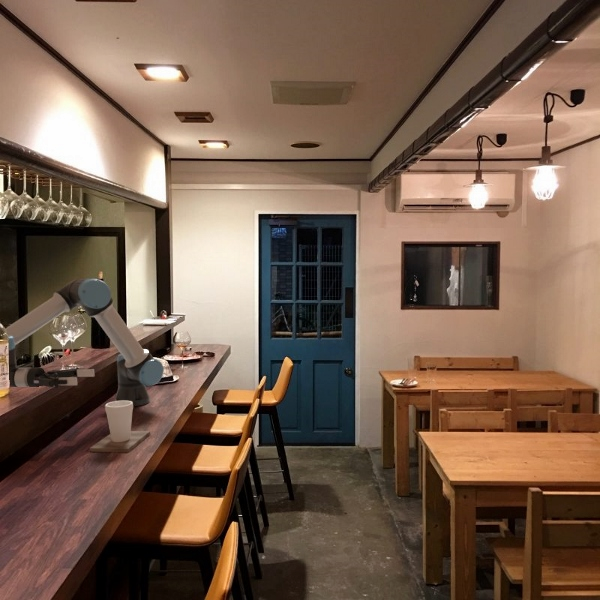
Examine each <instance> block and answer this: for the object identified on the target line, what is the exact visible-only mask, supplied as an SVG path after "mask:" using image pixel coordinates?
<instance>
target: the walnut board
mask: <svg viewBox="0 0 600 600" xmlns="http://www.w3.org/2000/svg"><path fill="white" fill-rule="evenodd" d="M149 434H150V435H151V431H149V430H146V431H145V430H131V434H130V439H129V440H127V441H123V442H114V441H112V439H111V434H110V433H109V434H108V435H107V436H105V437H103V438H102V439H101V440H99V441H98V442H96V443H95V444H94V445H91V447H89V452H92V453H93V452H94V453H95V452H102V453H106V452H107V453H108V452H109V453H130V452H131V451H132V450H133V449H135V448H136V447H137V446H138V445H140V443H142V442H143V441H144V440H145V439H146V438H148V437H149V436H150V435H149ZM148 435H149V436H148ZM147 436H148V437H147Z"/></svg>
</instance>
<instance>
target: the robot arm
mask: <svg viewBox="0 0 600 600" xmlns="http://www.w3.org/2000/svg"><path fill="white" fill-rule="evenodd" d="M111 292H112V291H111V288H110V287H109V285H108V284H107V283H106V282H105V281H103V280H101V279H98V278H93V277H91V278H85V277H84V278H82V277H81V278H76V279H74V280H72V281H70V282H68V283H66V284H65V285H63V287H61V288H59V289H58V290H56V291H55V292H54V293H53V296H52V297H51V298H49V299H48V300H46V301H45V302H43V303H42V304H39V306H37V307H36V308H34V309H32V310H31V311H29V312H28V313H26V314H25V315H24V316H22V317H21V318H19V319H17V320H16V321H15V322H13V323H12V324H10V325H8V326H7V327H6V328H5V329H6V331H7V334H8V339H9V380H10V387H28V386H29V387H39V386H42V387H46V388H47V387H48V388H55V389H58V388H59V386H78V378H84V377H85V378H87V377H88V378H89V377H92V378H94V377H95V369H94V368H92V369H90V368H86V369H85V368H84V369H81V368H79V366H77V367H75V368H68V369H67V368H66V369H58V370H50V371H47V372H46V371H45V369H44V368H43V367H40V366H39V367H29V366H28V367H17V355H16V354H17V353H16V345H18V344H19V343H20V342H22V341H23V340H25V339H27V338H29V337H30V336H31V335H33V334H34V333H35V332H37V331H39V330H40V329H41V328H43V327H45V326H46V325H48V323H50V322H52V321H53V320H55V319H57V318H58V317H59V316H60V315H62V314H63V313H69V312H71V311H72V310H74V309H76V308H79V307H81V308H82V309H83V310H84V311H85V313H86V314H87V316H88V317H90V318H94V319H95V320H96V321H97V324H99V326H100V327H101V328H102V330H103V331H104V333H105V334H106V336H108V338H109V339H110V341H111V342H112V344H113V345H114V346H115V347H116V349H117V350H118V352H119V353H120V354H118V355H117V356H116V357H117V358H116V367H117V381H118V382H117V383H118V384H117V387H118V388H117V391H116V396H115V398H114V401H132V402H133V407H137V406H143V405H146V404H149V403H150V401H151V400H150V399H151V398H150V394H149V392H148V389H147V386H149V387H150V386H154V385H156V384H158V383H159V382H160V381H161V379H162V378H163V374H164V365H163V363H162V362H161V361H160V360H158V359H157V358H154V356H153V355H152V354H151V352H150V350H149V349H146V348H143V347H142V345H141V344H140V342H139V341H138V339H137V338H136V337H135V336H134V333H132V331H131V329H130V328H129V327H128V326H127V324H126V322H125V321H124V319H122V317H121V315H120V314H119V313H118V312H117V309H115V307H114V298H113V297H112V293H111Z"/></svg>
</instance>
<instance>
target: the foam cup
mask: <svg viewBox="0 0 600 600" xmlns="http://www.w3.org/2000/svg"><path fill="white" fill-rule="evenodd" d="M104 407H105V409H104V410H105V413H106V417H107V419H106V420H107V422H108V428H109V434H111V439H112V441H114V442H123V441H127V440H129V439H130V434H131V431H132V419H133V409H134V406H133V402H132V401H115V400H114V401H110V402H107V403H106V404H105V405H104Z"/></svg>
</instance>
